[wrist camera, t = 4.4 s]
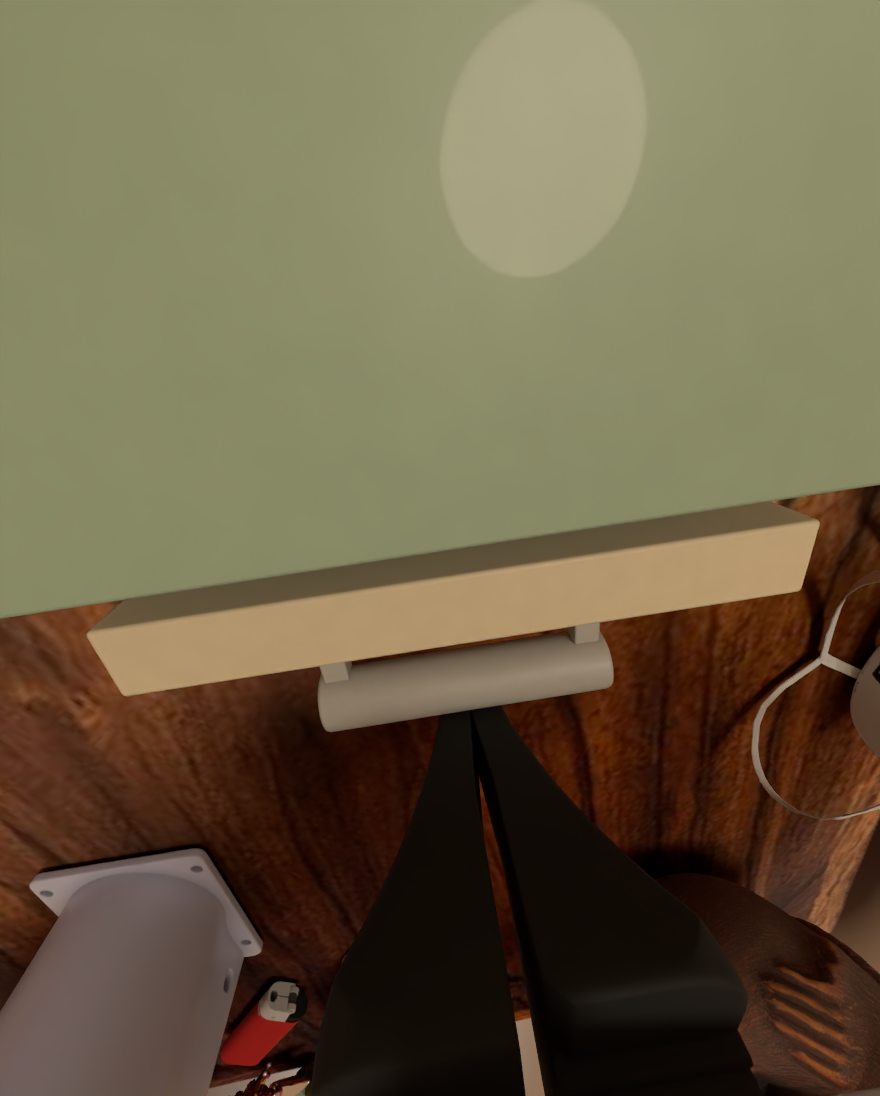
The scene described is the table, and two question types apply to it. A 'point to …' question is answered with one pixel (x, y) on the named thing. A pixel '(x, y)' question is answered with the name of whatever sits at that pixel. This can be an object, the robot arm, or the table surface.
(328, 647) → the drawer
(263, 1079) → the decorative bottle
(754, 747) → the sandal
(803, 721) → the table surface
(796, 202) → the cabinet
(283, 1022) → the lighter
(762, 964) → the brown animal pot
